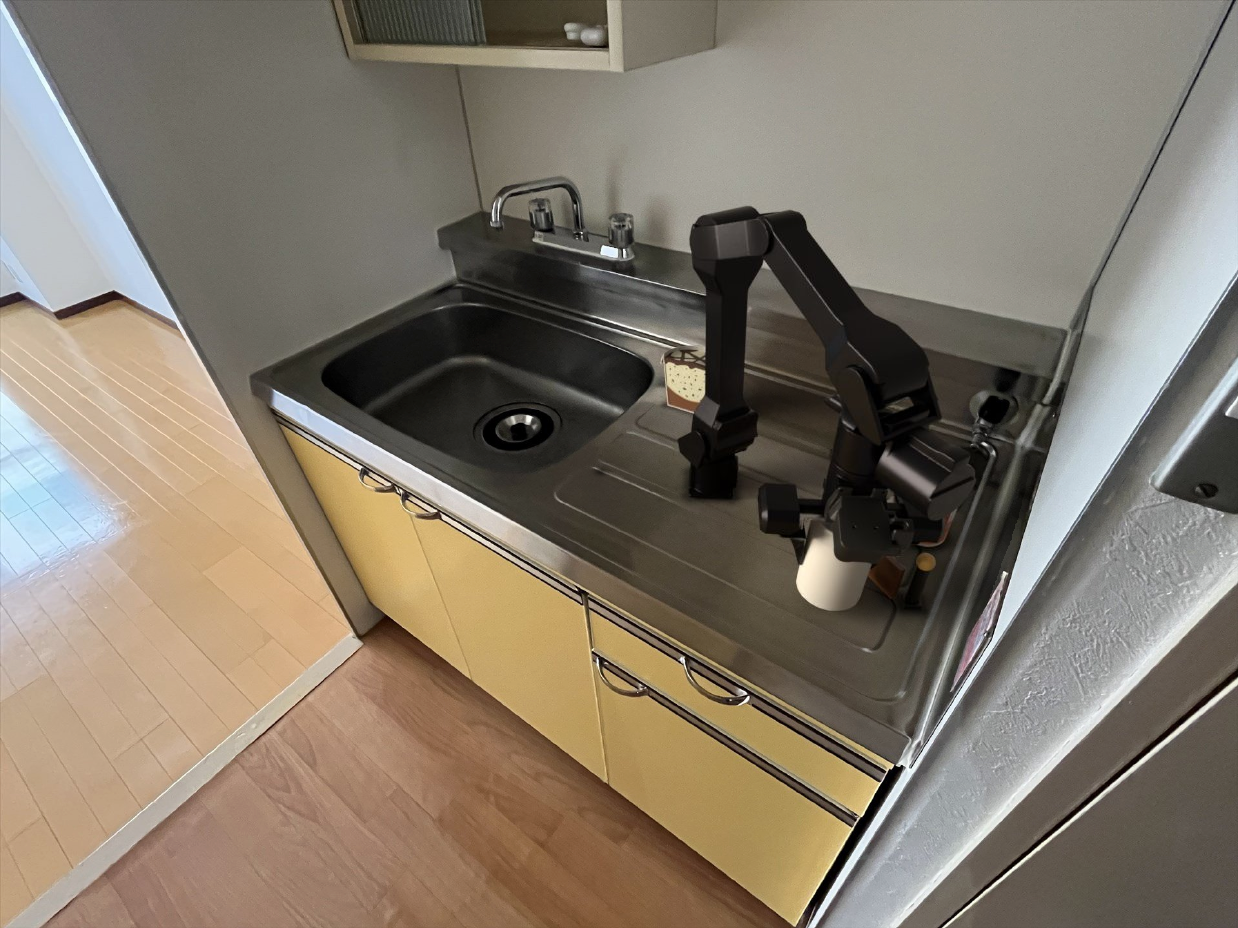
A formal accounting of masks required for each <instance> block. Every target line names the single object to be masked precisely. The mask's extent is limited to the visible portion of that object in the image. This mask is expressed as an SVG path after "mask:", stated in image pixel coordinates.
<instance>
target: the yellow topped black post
mask: <svg viewBox="0 0 1238 928" xmlns="http://www.w3.org/2000/svg"><path fill="white" fill-rule="evenodd" d="M915 563H916V565H915V568H914V570H913V573H912V576H911V579H910V581H909V583H908V584H909V585H908V587H907V590H906V592H903V591H902V592H901V593H900V596H899V597H900V601H901V605H902V608H903V610H907V611H908V610H910V611H922V609H923V602H922V600H921V598H922V596H923V593H924V590H925V588H926V586H927V582H928V579H929V578H930V575H931V572H932V570H933V569H934V568H935V567H936V564H937V561H936V558H935V557H934V556H933V555H932V554H930V553H928V552H922V553H920V554H918V555H917V557H916V560H915Z"/></svg>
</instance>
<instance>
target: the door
mask: <svg viewBox="0 0 1238 928" xmlns="http://www.w3.org/2000/svg"><path fill="white" fill-rule="evenodd" d="M906 571H907V568H906V567H905V566H904V565H902V563H900V562H899V561H898V560H897V559H896V558H895V556H885V557H884V559H883V560H882V561H881V562H880V563H878V564H877V565H876V566H875V567H874V568H873V569H870V570H869V573H868V576H867V577H868V578H869V579H870V580H871V581H872V582H873V583H874V584H875V585H876V586H877V587H878V588H879V589H880V590H881V591H882V592H883V593H884V594H885V595H886V596H887V597H888V598H889V599H890V600H893V599H896V598H897V596H898V594H899V592H900V588H901V585H902V582H903V579H904V576H905V574H906Z"/></svg>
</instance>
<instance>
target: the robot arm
mask: <svg viewBox="0 0 1238 928" xmlns="http://www.w3.org/2000/svg"><path fill="white" fill-rule="evenodd" d="M688 241H689V242H688V243H689V248H690V254H691V262H692V269H693V270H694V272H695V273H696V275H697V277H698V278H699V280H700V281H701V283H702V284H703V286H704V288H705V339H704V340H705V395H704V397H703V398H702V400H701V401H700V403H699V405H698V406H697V408H696V410H695V411H694V413H692V419H691V427H690V432H688V433H686V434H684V435H682V436H681V437H679V438H677V445H678V451H679V453H680V454H681V455H682V456H683V457H684V459H686V460H687V461H688V462H689V463H690V464H689V469H688V489H687V490H688V491H687V495H688V497H689V498H693V499H694V498H695V499H714V500H715V499H717V500H733V499H734V489H737V487H738V478H739V477H738V475H739V456H738V455H736V454H739V453H741V452H743V453H744V452H746V451H747V450H748V448H749V447H750V446H751V445H753V444H754V442H755V439H756V438H758V437H759V433H758V421H759V414H758V412H757V410H754V409H753V408H752V407H751V406H750V404H749V403H748V401H747V400H746V398H745V396H744V389H745V388H744V385H745V384H744V382H745V365H746V344H747V343H746V342H747V327H748V326H747V322H748V303H749V302H748V301H749V290H750V287H751V286H752V284H753V282H754V280H755V278H757V275H758V274H759V272H760V270H762V269H761V268H762V267H763V265H764V262H765V263H766V265H767V266H768V268H769V270H770V271H771V272H772V273H773V275H774V276H775V277H776V279H777V281H778V282H779V283H780V285H781V286H782V287H783V289H784V290H785V292H786V293H787V294H788V296H789V298H790V299H791V300H792V302H793V303H794V304H795V306H796V307H797V308H798V311H800V313H801V314H802V316H803V317H804V319H805V320H806V322H807V323H808V324H809V326H810V327H811V328H812V330H813V331H814V332H815V334H816V335H817V337H818V338H819V340H820V342H821V343H822V346H823V348H824V364H825V365H824V367H825V372H826V374H827V376H828V377H829V379H830V382H831V383H832V386H833V387H834V389H835V391H836V393H835V394H833V395H831V396H828V397H825V398H824V400H823V402H824V404H825V405H826V406H827V407H828V408H830V409H831V410H832V411H834V412H836V413H837V414H838V421H837V426H836V429H835V430H836V431H835V436H834V440H833V445H832V448H829V454H828V459H829V462H828V467H827V472H826V477H824V478H823V481H822V489H823V491H822V496H821V498H805V497H804V498H803V497H799V496H798V489H797V484H796V483H781V482H764V483H763V484H761V485H760V487H758V490H757V498H756V499H757V512H758V523H759V525H758V526H759V531H761V532H762V533H764V534H765V535H778V536H779V538H782V539H789V541H790V542H791V544H792V546H793V550H794V553H795V554H794V555H795V558H796V561H797V565H798V566H800V565H802V563H803V560H804V546H805V542H806V537H807V534H806V527H805V521H807V520H808V521H809V520H810V521H811V520H825V522H826V523H832V532H833V544H834V555H835V557H836V558H837V559H838V560H839V561H841V562H864V563H870V564H871V567H870V569H873V568H874V567H875V566H876V565H877V564H878V563H880V562H881V561H882V560H883V559H884V557H885V556H893V557H894V558H895V557H897V558H898V557H899V558H900V557H901V556H902V552H907V551H908V549H910V547H911V546H919V545H918V544H919V543H920V542H927V543H938V542H939V541H940V540H942V537H943V535H944V532H945V530H946V520H945V517H946V516H948V515H949V514H951V513H952V512H953V511H955V510H956V509H957V510H958V508H959V507H960V506H961V505H962V504H963V503H964V502H965V501H966V500H967V498H968V497H969V495H970V494H971V492H972V491H973V489H974V487H975V484H976V482H977V478H976V470H975V468H974V467H973V466H972V465H971V464H969V461H970V459H971V454H970V452H968V451H966V450H965V449H963V448H961V447H960V446H959V445H955V444H952V443H950V442H948V441H946V440H945V439H943V438H942V437H940V436H938V435H936V434H935V433H934V432H932V431H930V430H929V429H930V426H931V425H933V424H936V423H939V422H941V421H942V420H943V416H942V411H941V408H940V404H939V398H938V396H937V393H936V389H935V387H934V383H933V380H932V376H931V374H930V370H929V367H930V361H929V357H928V356H927V354H926V353H925V349H923V347H922V346H921V345H920V344H919V343H918V342H916V340H914V338H912V337H911V336H910V335H909V334H908V333H907V332H906V331H905V330H904V329H903V328H902V327H901V326H899V324H897V323H894V322H892V321H890V320H888V319H886V318H883V317H882V316H879V315H877V314H875V313H873V311H872V310H870V309H869V308H868V307H867V306H866V304H865V303H864V302H863V301H862V299H861V298H860V297H859V296H858V294H857V292H855V290H854V289H853V288H852V286H851V285H850V284H849V282H848V281H847V279H845V277H844V276H843V275H842V273H841V272H840V270H839V269H838V267H837V266H836V265H835V264H834V262H833V261H832V259H830V257H829V256H828V255H827V254H826V252H825V251H824V250H823V248H822V246H820V244H819V243H818V241H816V239H815V238H814V237H813V235H812V234H811V232H810V231H809V229H808V225H807V221H806V218H805V217H804V215H803V214H802V213H801V212H799V211H796V210H793V209H786V210H781V211H770V212H763V213H760V212H759V211H758V210H757V208H755V207H754V206H752V205H744V206H738V207H734V208H730V209H725V210H720V211H716V212H711V213H706V214H702V215H701V216H698V218H697V219H696V220H695V222H694V223H692V225H691V228H690V233H689V239H688ZM906 400H910V402H911V403H912V405H911V406H909V407H906V408H904V409H901V410H899V411H896V412H895V411H893V410H892V409H891V408H889V407H891V406H893V405H896V404H898V403H901V402H903V401H906ZM889 490H890V491H891V492H893V495H892V496H891V497H890V498H889V499H888V494H889Z"/></svg>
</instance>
